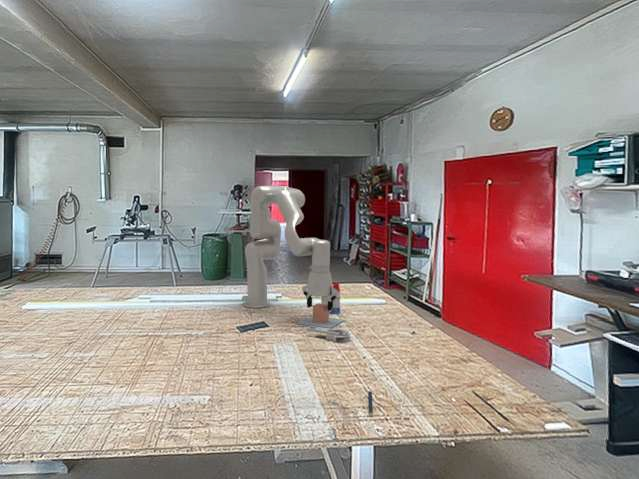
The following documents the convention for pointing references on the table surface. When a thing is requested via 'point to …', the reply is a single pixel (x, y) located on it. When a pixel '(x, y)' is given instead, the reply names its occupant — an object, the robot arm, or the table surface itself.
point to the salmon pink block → (320, 313)
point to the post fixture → (328, 324)
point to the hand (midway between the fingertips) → (319, 308)
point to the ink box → (335, 302)
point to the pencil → (370, 403)
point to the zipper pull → (332, 333)
